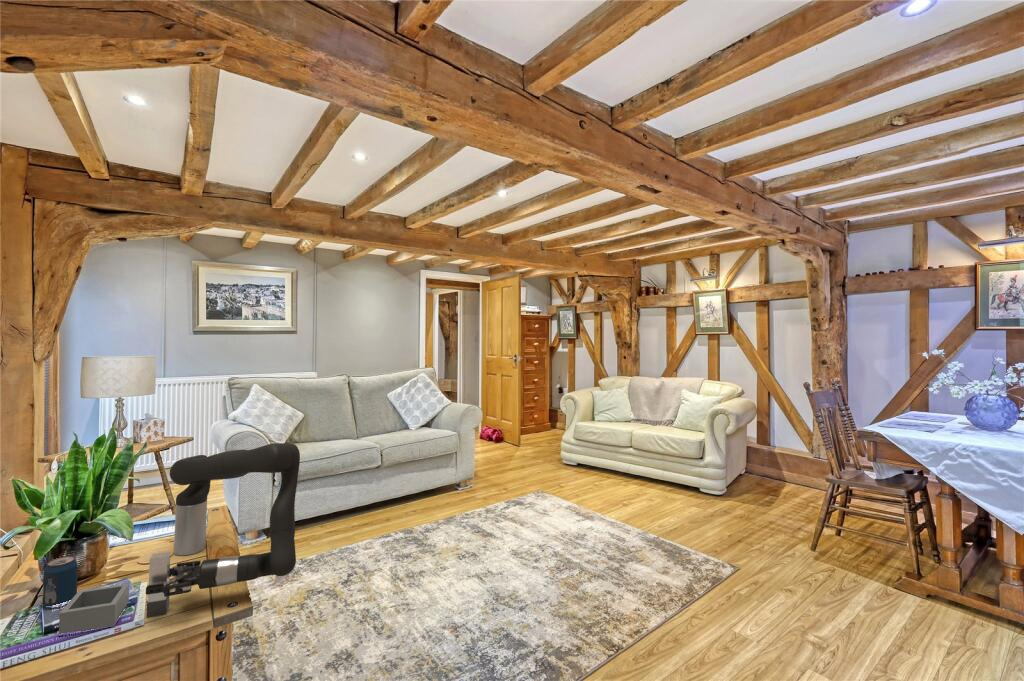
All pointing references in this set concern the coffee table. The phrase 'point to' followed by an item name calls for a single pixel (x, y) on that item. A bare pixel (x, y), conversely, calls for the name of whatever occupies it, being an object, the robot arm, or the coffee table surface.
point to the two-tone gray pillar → (157, 575)
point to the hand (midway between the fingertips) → (150, 582)
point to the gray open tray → (94, 608)
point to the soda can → (60, 580)
